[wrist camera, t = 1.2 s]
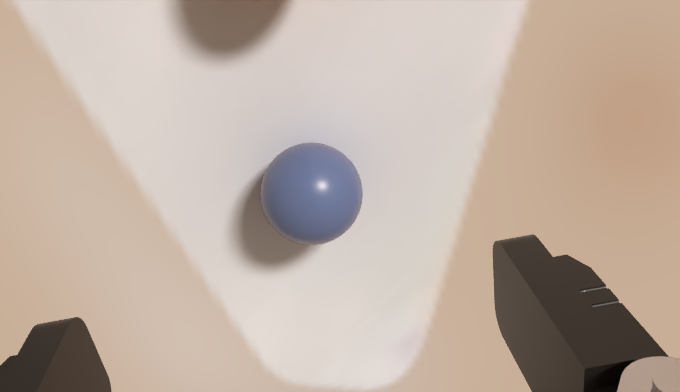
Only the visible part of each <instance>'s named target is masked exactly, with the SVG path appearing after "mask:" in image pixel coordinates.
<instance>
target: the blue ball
mask: <svg viewBox="0 0 680 392" xmlns="http://www.w3.org/2000/svg"><path fill="white" fill-rule="evenodd" d="M260 192H261V204H262V208H263V211H264V214H265V216H266V218H267V220H268V221H269V223H270V224H271V225H272V227H273V228H274V229H275V230H276V231H277V232H278V233H279V234H281V235H282V236H284V237H285V238H287V239H289V240H291V241H294V242H296V243H300V244H306V245H317V244H323V243H327V242H329V241H332V240H334V239H336V238H338V237H339V236H341V235H342V234H343V233H345V232H346V231H347V230H348V229H349V228H350V227H351V225H352V224H353V223H354V221H355V219H356V218H357V216H358V214H359V211H360V208H361V204H362V194H363V193H362V184H361V180H360V177H359V174H358V172H357V170H356V168H355V166H354V165H353V164H352V162H351V161H350V160H349V159H348V158H347V157H346V156H345V155H344V154H343V153H341V152H340V151H338V150H337V149H335V148H333V147H330V146H327V145H324V144H319V143H304V144H299V145H295V146H293V147H290V148H288V149H286V150H285V151H283V152H282V153H280V154H279V155H278V156H277V157H276V158H275V159H274V160H273V161H272V162H271V163H270V165H269V167H268V168H267V170H266V172H265V174H264V176H263V180H262V184H261V191H260Z"/></svg>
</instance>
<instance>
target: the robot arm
mask: <svg viewBox="0 0 680 392" xmlns="http://www.w3.org/2000/svg"><path fill="white" fill-rule="evenodd" d="M493 270H494V297H495V311H496V317H497V321H498V325H499V328H500V331H501V334H502V336H503V338H504V340H505V342H506V344H507V346H508V347H509V349H510V351H511V353H512V355H513V357H514V359H515V361H516V362H517V364H518V366H519V368H520V370H521V372H522V374H523V375H524V377H525V379H526V381H527V383H528V385H529V387H530V389H531V391H532V392H680V359H678V358H673V357H669V356H668V355H667V354H666V353H665V352H664V351H663V350H662V349H661V348H660V346H659V345H658V344H657V343H656V342H655V341H654V339H653V338H652V337H651V336H650V335H649V334H648V333H647V331H646V330H645V329H644V328H643V327H642V326H641V325H640V323H639V322H638V321H637V320H636V319H635V318H634V317H633V315H631V313H630V312H629V311H628V310H627V309H626V308H625V306H624V305H623V304H622V303H619V301H618V299H617V297H616V296H615V295H614V294H613V293H612V292H611V290H610V289H607V288H606V285H605V284H604V282H602V280H601V279H600V278H599V277H598V276H597V275H596V273H595V272H594V271H593V270H592V269H591V268H590V267H588V266H587V265H585V264H583V263H581V262H579V261H577V260H575V259H574V258H572V257H570V256H568V255H562V256H557V257H552V256H551V254H550V253H549V252H548V250H547V249H546V248H545V247H544V245H543V244H542V243H541V242H540V240H539V239H538V238H537V237H536V236H535V235H527V236H522V237H516V238H511V239H505V240H500V241H495V243H494V245H493ZM0 392H111V386H110V381H109V377H108V375H107V372H106V370H105V368H104V365H103V363H102V361H101V359H100V356H99V354H98V352H97V349H96V347H95V345H94V343H93V340H92V338H91V336H90V333H89V331H88V329H87V327H86V325H85V323H84V321H83V320H82V319H80V318H78V317H75V318H70V319H64V320H59V321H53V322H48V323H43V324H38V325H36V326H34V327H33V329H32V330H31V332H30V334H29V335H28V337H27V339H26V341H25V342H24V344H23V346H22V348H21V349H20V351H19V353H18V355H16V356H10V357H9V358H8V359H7V360H6V361H5V362H4V363H3V364H2V365H0Z"/></svg>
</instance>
